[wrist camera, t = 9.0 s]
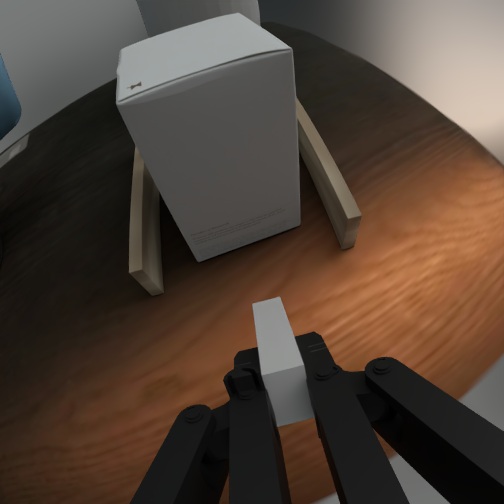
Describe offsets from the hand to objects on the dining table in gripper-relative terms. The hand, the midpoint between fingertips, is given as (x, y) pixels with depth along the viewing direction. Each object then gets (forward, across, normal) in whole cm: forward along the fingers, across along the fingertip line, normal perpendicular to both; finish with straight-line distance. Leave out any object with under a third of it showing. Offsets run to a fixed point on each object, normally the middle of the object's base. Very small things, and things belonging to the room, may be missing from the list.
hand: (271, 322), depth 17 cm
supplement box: (+12, -1, +6) cm, 13 cm away
